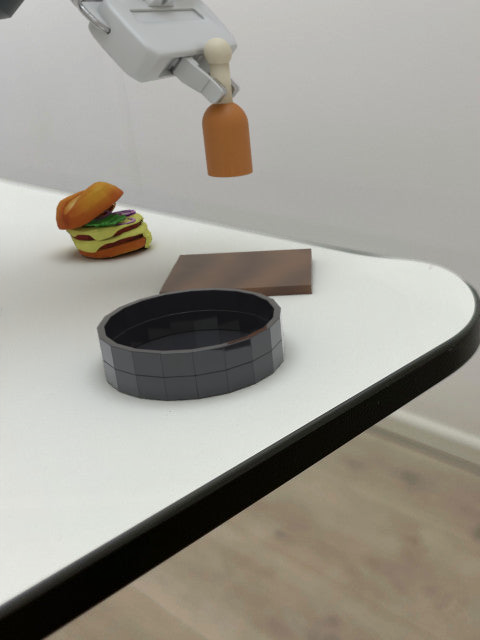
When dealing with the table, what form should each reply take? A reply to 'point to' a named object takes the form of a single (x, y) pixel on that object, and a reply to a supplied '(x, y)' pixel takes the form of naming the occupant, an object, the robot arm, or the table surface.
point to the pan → (191, 343)
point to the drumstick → (225, 121)
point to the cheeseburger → (101, 222)
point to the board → (245, 272)
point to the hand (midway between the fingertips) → (228, 96)
